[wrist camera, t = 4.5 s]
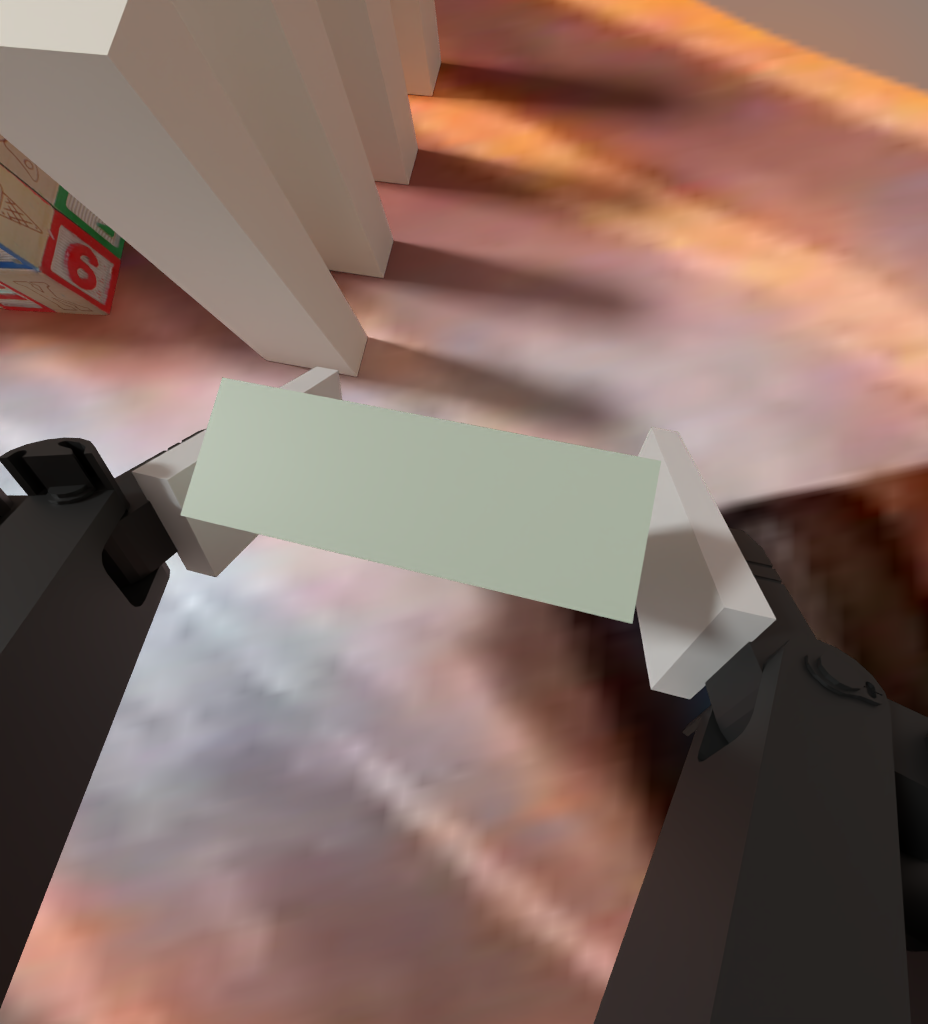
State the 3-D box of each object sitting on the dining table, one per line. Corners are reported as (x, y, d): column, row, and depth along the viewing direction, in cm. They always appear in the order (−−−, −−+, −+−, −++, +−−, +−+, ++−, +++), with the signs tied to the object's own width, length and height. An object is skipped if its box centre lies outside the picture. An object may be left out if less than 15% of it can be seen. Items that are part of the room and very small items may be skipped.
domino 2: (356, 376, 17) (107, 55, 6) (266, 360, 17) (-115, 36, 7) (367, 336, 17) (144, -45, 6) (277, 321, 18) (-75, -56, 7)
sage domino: (534, 575, 15) (632, 623, 4) (397, 543, 16) (180, 514, 5) (544, 528, 15) (660, 460, 5) (407, 498, 16) (222, 377, 5)
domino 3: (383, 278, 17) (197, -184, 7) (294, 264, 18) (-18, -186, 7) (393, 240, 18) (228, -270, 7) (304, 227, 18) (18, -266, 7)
